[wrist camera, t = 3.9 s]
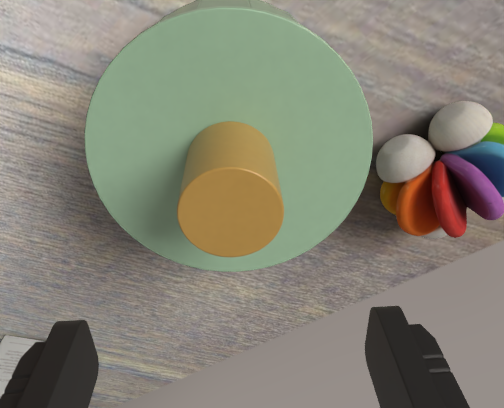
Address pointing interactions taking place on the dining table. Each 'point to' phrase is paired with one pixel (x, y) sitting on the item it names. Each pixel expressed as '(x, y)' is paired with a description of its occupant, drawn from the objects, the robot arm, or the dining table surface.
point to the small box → (12, 356)
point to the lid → (228, 139)
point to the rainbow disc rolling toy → (445, 172)
